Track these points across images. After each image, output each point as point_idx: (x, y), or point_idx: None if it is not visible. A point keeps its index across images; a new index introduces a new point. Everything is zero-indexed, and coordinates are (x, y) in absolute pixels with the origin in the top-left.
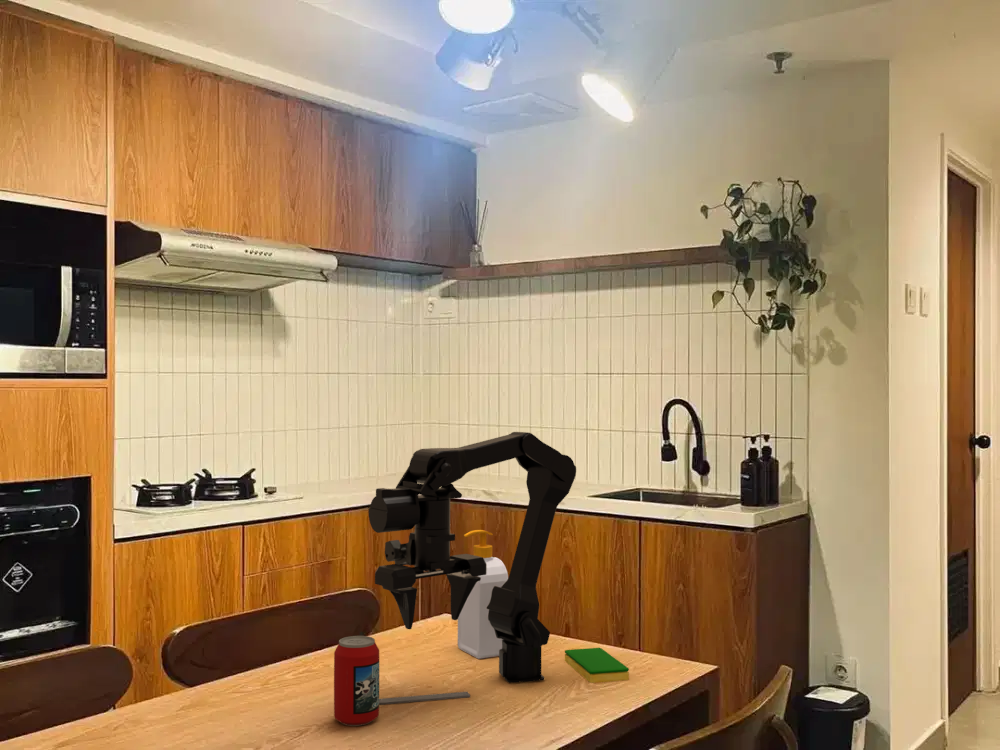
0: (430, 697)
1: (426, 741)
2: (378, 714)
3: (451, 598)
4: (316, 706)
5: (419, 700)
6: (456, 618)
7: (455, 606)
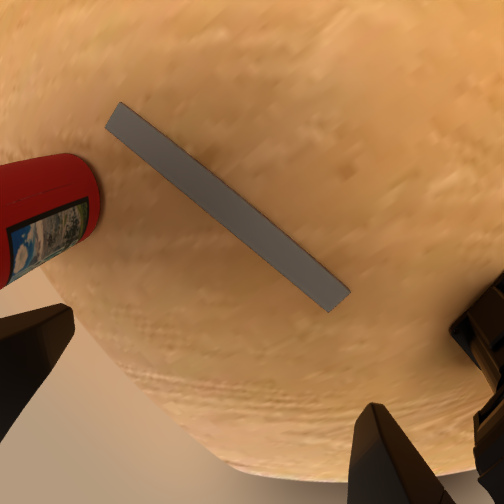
0: (257, 242)
1: (103, 349)
2: (86, 237)
3: (401, 497)
4: (76, 71)
5: (227, 227)
6: (356, 433)
7: (363, 483)
